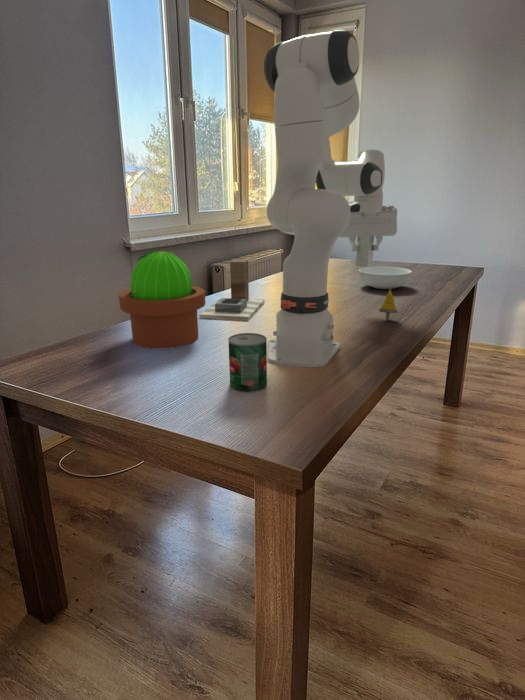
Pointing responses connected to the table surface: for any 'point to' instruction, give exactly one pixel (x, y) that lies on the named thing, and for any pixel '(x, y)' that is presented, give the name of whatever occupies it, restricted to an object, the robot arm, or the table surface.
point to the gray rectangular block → (365, 251)
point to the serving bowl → (384, 277)
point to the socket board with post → (235, 297)
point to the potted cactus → (162, 302)
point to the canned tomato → (248, 362)
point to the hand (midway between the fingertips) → (365, 250)
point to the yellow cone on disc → (388, 305)
